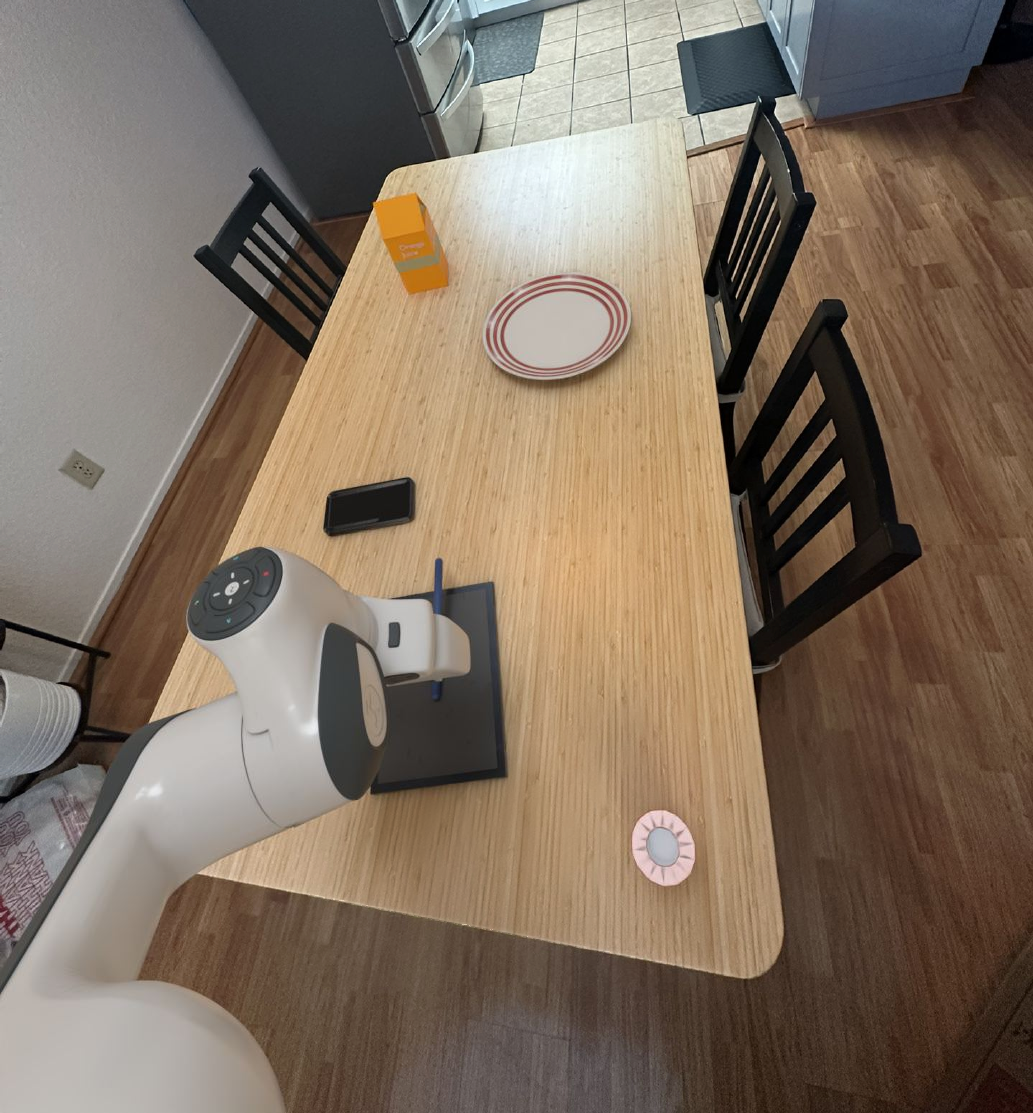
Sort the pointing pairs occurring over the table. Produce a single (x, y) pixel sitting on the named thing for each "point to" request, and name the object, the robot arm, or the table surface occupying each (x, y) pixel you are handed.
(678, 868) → the holder
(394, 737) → the tablet
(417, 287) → the orange juice
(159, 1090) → the robot arm
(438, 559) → the stylus
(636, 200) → the table surface
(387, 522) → the phone
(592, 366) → the dinner plate
